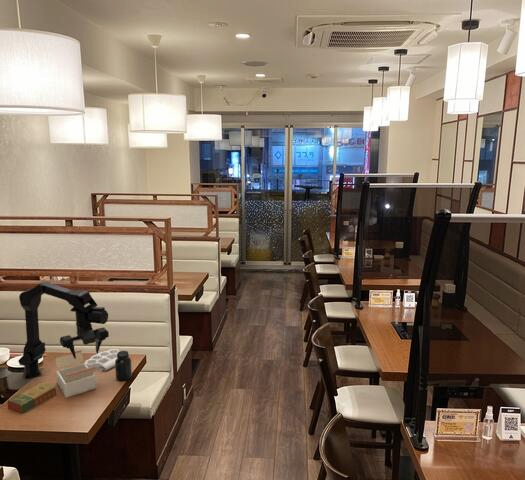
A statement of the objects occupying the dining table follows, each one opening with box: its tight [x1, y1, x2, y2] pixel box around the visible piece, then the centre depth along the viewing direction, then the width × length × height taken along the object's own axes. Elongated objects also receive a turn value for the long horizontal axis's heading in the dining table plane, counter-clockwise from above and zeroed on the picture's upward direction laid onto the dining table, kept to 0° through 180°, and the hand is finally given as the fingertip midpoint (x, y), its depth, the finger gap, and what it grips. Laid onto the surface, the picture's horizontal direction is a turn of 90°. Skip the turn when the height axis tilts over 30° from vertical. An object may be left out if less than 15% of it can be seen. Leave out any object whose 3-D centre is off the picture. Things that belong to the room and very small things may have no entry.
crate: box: [55, 362, 96, 398], centre depth 200 cm, size 14×12×6 cm
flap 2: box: [66, 367, 96, 382], centre depth 193 cm, size 5×11×1 cm
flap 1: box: [54, 349, 85, 370], centre depth 206 cm, size 5×11×1 cm
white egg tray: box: [84, 348, 120, 372], centre depth 222 cm, size 3×18×15 cm
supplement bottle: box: [114, 350, 133, 382], centre depth 207 cm, size 7×7×12 cm
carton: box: [7, 381, 57, 414], centre depth 189 cm, size 8×16×4 cm, turn 154°
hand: (86, 355), depth 201 cm, fingers open, 9 cm apart
